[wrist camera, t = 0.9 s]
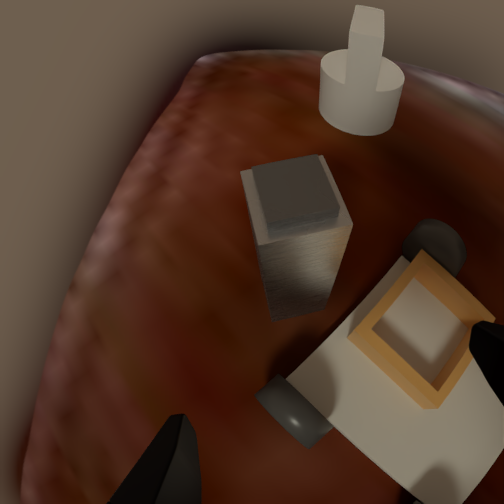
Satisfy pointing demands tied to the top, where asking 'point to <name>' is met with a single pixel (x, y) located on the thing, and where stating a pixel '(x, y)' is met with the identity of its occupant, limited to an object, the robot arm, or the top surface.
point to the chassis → (404, 377)
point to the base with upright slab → (361, 79)
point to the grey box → (296, 232)
